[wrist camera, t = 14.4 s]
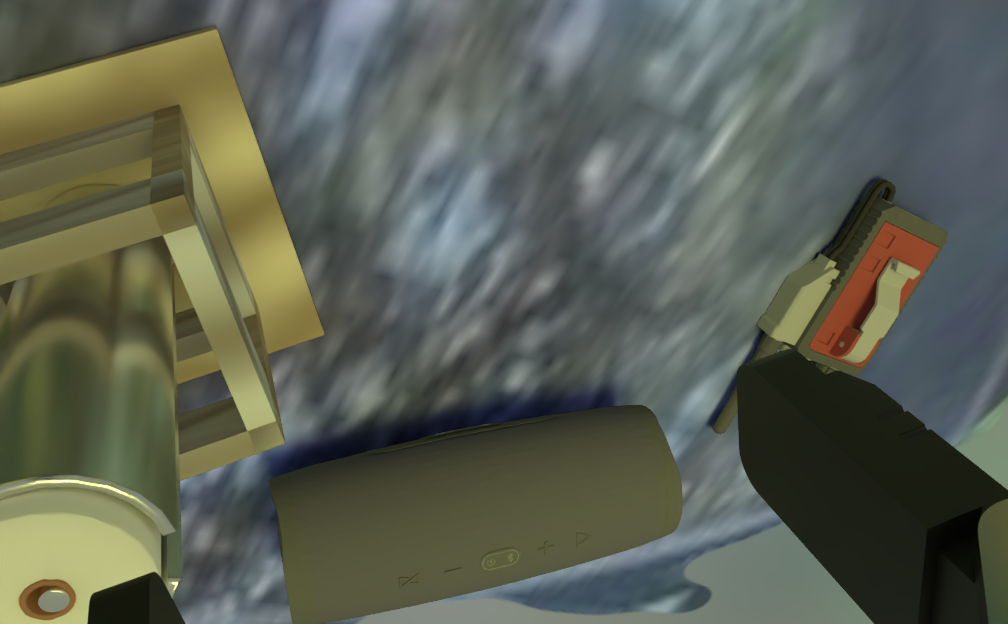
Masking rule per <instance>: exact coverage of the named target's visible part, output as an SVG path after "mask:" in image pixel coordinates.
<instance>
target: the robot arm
mask: <svg viewBox="0 0 1008 624" xmlns="http://www.w3.org/2000/svg"><path fill="white" fill-rule="evenodd" d="M736 382H737V406H738V430H739V450H740V456H741V460H742V464H743V467H744V469H745V472H746V474H747V476H748V478H749V480H750V482H751V484H752V485H753V487H754V488H755V490H756V491H757V492H758V494H759V495H760V496H761V497H762V498H763V499H764V500H765V501H766V503H767V504H768V505H769V506H770V507H771V508H772V509H773V510H774V512H775V513H776V514H777V515H778V516H779V517H780V518H781V519H782V521H783V522H784V523H785V524H786V525H787V526H788V527H789V528H790V529H791V531H792V532H793V533H794V534H795V535H796V536H797V537H798V538H799V540H800V541H801V542H802V543H803V544H804V545H805V546H806V548H808V550H809V551H810V552H811V553H812V554H813V555H814V556H815V558H816V559H817V560H818V561H819V562H820V563H821V564H822V566H823V567H824V568H825V569H826V570H827V571H828V572H829V573H830V574H831V576H832V577H833V578H834V579H835V580H836V581H837V582H838V583H839V585H840V586H841V587H842V588H843V589H844V590H845V591H846V592H847V594H848V595H849V596H850V597H851V598H852V599H853V600H854V601H855V603H856V604H857V605H858V606H859V607H860V608H861V609H862V610H863V611H864V612H865V614H866V615H867V616H868V617H869V618H870V619H871V620H872V622H873V623H874V624H1008V490H1007V489H1006V488H1004V487H1003V486H1002V485H1001V484H999V483H998V482H997V481H995V480H994V479H993V478H992V477H990V476H989V475H988V474H987V473H985V472H984V471H983V470H982V469H980V468H979V467H978V466H977V465H975V464H974V463H973V462H972V461H970V460H969V459H968V458H966V457H965V456H964V455H963V454H961V453H960V452H959V451H958V450H956V449H955V448H954V447H953V446H951V445H950V444H949V443H948V442H946V441H945V440H944V439H942V438H941V437H940V436H939V435H937V434H936V433H935V432H934V431H932V430H931V429H930V430H927V429H926V427H925V424H924V423H922V422H921V421H920V420H919V419H917V418H916V417H915V416H913V415H912V414H911V413H910V412H908V411H906V412H904V410H903V408H902V406H901V405H900V404H898V403H897V402H896V401H895V400H893V399H892V398H891V397H890V396H888V395H887V394H886V393H884V392H883V391H882V390H881V389H879V388H878V387H877V386H876V385H874V384H872V383H869V382H867V381H864V380H861V379H859V378H856V377H854V376H851V375H849V374H846V373H844V372H841V371H839V370H836V371H834V372H831V373H828V374H824V373H823V372H822V371H821V370H820V369H818V368H817V367H816V366H815V365H814V364H812V363H811V362H810V361H809V360H808V359H806V358H805V357H804V356H803V355H802V354H800V353H799V352H798V351H796V350H794V349H786V350H783V351H780V352H777V353H775V354H772V355H769V356H766V357H763V358H761V359H758V360H755V361H752V362H749V363H746V364H744V365H742V366H740V367H739V369H738V371H737V377H736ZM87 624H185V622H184V620H183V618H182V616H181V614H180V613H179V611H178V609H177V607H176V605H175V603H174V601H173V599H172V597H171V595H170V593H169V591H168V589H167V587H166V585H165V584H164V582H163V580H162V578H161V577H160V576H159V575H158V573H156V572H151V573H148V574H146V575H143V576H140V577H137V578H134V579H131V580H129V581H126V582H123V583H120V584H117V585H114V586H112V587H109V588H106V589H103V590H100V591H98V592H95V593H93V594H92V595H91V597H90V601H89V610H88V623H87Z"/></svg>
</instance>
